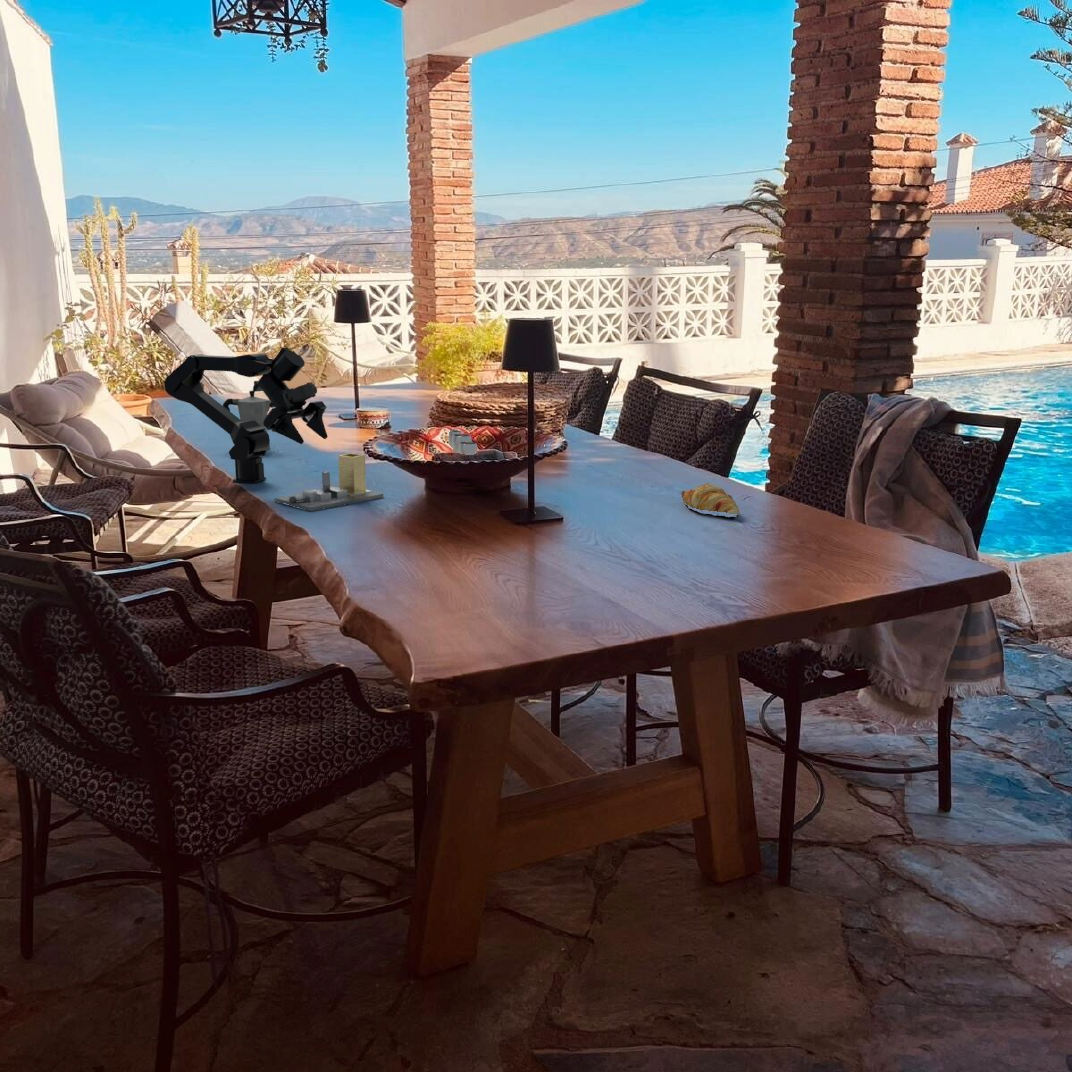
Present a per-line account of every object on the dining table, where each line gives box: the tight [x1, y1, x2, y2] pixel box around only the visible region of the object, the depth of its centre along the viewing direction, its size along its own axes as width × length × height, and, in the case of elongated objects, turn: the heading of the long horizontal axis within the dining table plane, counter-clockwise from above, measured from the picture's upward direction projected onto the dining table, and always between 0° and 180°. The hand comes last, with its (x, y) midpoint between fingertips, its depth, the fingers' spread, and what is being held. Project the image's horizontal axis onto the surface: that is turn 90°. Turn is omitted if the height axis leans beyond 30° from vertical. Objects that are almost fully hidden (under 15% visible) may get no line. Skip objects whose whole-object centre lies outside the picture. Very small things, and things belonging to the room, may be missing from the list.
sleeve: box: [338, 452, 367, 494], centre depth 257 cm, size 5×5×9 cm
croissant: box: [680, 482, 740, 515], centre depth 248 cm, size 21×10×8 cm, turn 29°
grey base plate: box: [274, 471, 384, 512], centre depth 253 cm, size 14×23×7 cm, turn 138°
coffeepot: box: [222, 390, 271, 451], centre depth 319 cm, size 15×9×18 cm, turn 103°
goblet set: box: [445, 428, 478, 455], centre depth 279 cm, size 28×6×13 cm, turn 21°
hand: (314, 440), depth 262 cm, fingers open, 9 cm apart
